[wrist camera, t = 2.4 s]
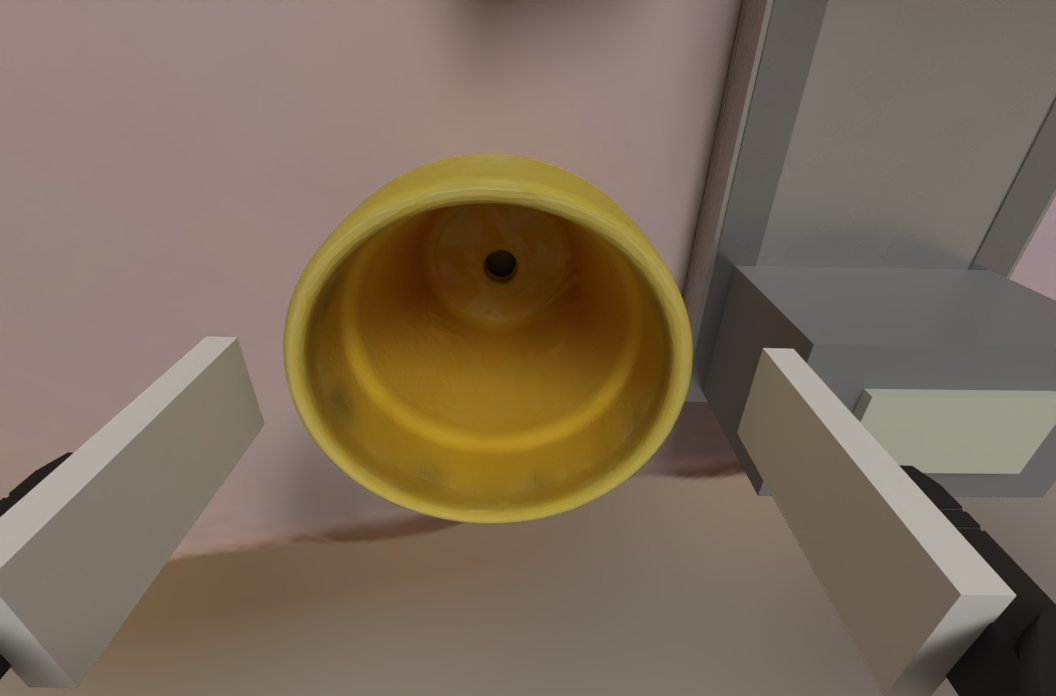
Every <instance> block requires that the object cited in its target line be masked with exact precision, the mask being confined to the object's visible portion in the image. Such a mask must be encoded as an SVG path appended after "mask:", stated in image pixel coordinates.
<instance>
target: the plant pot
mask: <svg viewBox="0 0 1056 696" xmlns="http://www.w3.org/2000/svg"><path fill="white" fill-rule="evenodd" d="M500 250H504V251H508V252H509V253H511V254H512V255H513V256H514V257H515V259H516V265H515V268H514V270H513V272H512V273H511V274H509V275H507V276H504V277H499V276H496V275H493V274H492V273H491V272H490V271H489V270H488V268H487V265H486V259H487V257H488V256H489V255H490V254H491V253H493V252H495V251H500ZM283 349H284V366H285V372H286V379H287V383H288V386H289V390H290V394H291V397H292V400H293V402H294V405H295V407H296V410H297V412H298V414H299V416H300V418H301V420H302V422H303V424H304V426H305V428H306V429H307V431H308V432H309V434H310V435H311V437H312V438H313V440H314V441H315V442H316V443H317V445H318V446H319V448H320V449H321V450H322V451H323V452H324V453H325V454H326V456H327V457H328V458H329V459H330V460H331V461H332V462H333V463H334V464H335V465H336V466H337V467H338V468H339V469H341V470H342V471H343V472H344V473H345V474H346V475H347V476H349V477H350V478H351V479H352V480H354V481H355V482H357V483H358V484H359V485H361V486H362V487H364V488H365V489H367V490H368V491H370V492H372V493H374V494H375V495H377V496H379V497H381V498H383V499H385V500H387V501H389V502H391V503H393V504H396V505H398V506H401V507H403V508H406V509H409V510H412V511H415V512H418V513H421V514H425V515H428V516H432V517H437V518H441V519H446V520H452V521H458V522H467V523H480V524H501V523H515V522H523V521H530V520H536V519H541V518H546V517H550V516H554V515H557V514H560V513H563V512H567V511H570V510H573V509H575V508H577V507H580V506H583V505H585V504H587V503H589V502H591V501H593V500H595V499H597V498H599V497H601V496H603V495H605V494H607V493H608V492H610V491H612V490H613V489H615V488H616V487H617V486H619V485H620V484H622V483H623V482H624V481H626V480H627V479H628V478H630V477H631V476H632V475H633V474H635V473H636V472H637V471H638V470H639V469H640V468H641V467H642V466H643V465H644V464H645V463H646V462H647V461H648V460H649V459H650V458H651V457H652V456H653V455H654V454H655V452H656V451H657V450H658V449H659V448H660V446H661V445H662V444H663V442H664V441H665V439H666V438H667V436H668V435H669V434H670V432H671V430H672V428H673V426H674V424H675V422H676V420H677V418H678V416H679V414H680V412H681V409H682V407H683V404H684V402H685V399H686V395H687V391H688V388H689V384H690V378H691V371H692V361H693V346H692V335H691V328H690V322H689V318H688V314H687V310H686V307H685V304H684V301H683V299H682V296H681V294H680V292H679V289H678V287H677V285H676V283H675V281H674V279H673V277H672V275H671V273H670V271H669V270H668V268H667V267H666V265H665V264H664V262H663V261H662V259H661V257H660V256H659V254H658V253H657V251H656V250H655V248H654V247H653V246H652V244H651V243H650V242H649V240H648V239H647V238H646V236H645V235H644V234H643V233H642V231H641V230H640V229H639V227H638V226H637V225H636V224H635V223H634V222H633V221H632V219H631V218H630V217H629V216H628V215H627V214H626V213H625V212H624V211H623V210H622V209H621V208H620V207H619V206H618V205H617V204H616V203H615V202H614V201H613V200H611V199H610V198H609V197H608V196H607V195H606V194H605V193H603V192H602V191H601V190H599V189H598V188H597V187H595V186H594V185H592V184H590V183H589V182H587V181H586V180H584V179H582V178H581V177H579V176H577V175H575V174H573V173H571V172H569V171H566V170H564V169H562V168H559V167H557V166H555V165H552V164H549V163H545V162H541V161H538V160H534V159H530V158H527V157H521V156H516V155H504V154H471V155H462V156H457V157H451V158H446V159H442V160H439V161H435V162H432V163H429V164H426V165H423V166H421V167H418V168H416V169H413V170H411V171H409V172H407V173H405V174H403V175H401V176H399V177H397V178H395V179H394V180H392V181H391V182H389V183H388V184H386V185H385V186H383V187H382V188H380V189H379V190H378V191H376V192H375V193H374V194H372V195H371V196H370V197H368V198H367V199H366V200H365V201H363V202H362V203H361V204H360V205H359V206H358V207H357V208H356V209H355V210H354V211H353V212H351V213H350V214H349V215H348V216H347V217H346V218H345V219H344V220H343V221H342V222H341V223H340V224H339V225H338V227H337V228H336V229H335V230H334V231H333V232H332V233H331V234H330V236H329V237H328V238H327V239H326V240H325V241H324V243H323V244H322V245H321V246H320V247H319V249H318V250H317V251H316V253H315V254H314V255H313V257H312V258H311V259H310V261H309V263H308V264H307V266H306V267H305V269H304V271H303V273H302V275H301V277H300V279H299V281H298V283H297V285H296V287H295V290H294V292H293V295H292V298H291V301H290V304H289V307H288V312H287V317H286V322H285V330H284V347H283Z"/></svg>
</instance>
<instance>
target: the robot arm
mask: <svg viewBox="0 0 1056 696" xmlns="http://www.w3.org/2000/svg"><path fill="white" fill-rule="evenodd" d="M263 426H264V421H263V418H262V415H261V411H260V408H259V405H258V402H257V399H256V395H255V392H254V389H253V386H252V383H251V379H250V376H249V373H248V370H247V367H246V363H245V360H244V357H243V354H242V351H241V347H240V344H239V341H238V338H237V337H205V338H204V339H203V340H202V341H201V342H200V343H198V344H197V345H196V346H195V347H194V348H193V349H192V350H190V351H189V352H188V353H187V354H186V355H185V356H184V357H182V358H181V359H180V360H179V361H178V362H177V363H176V364H175V365H173V366H172V367H171V368H170V369H169V370H168V371H167V372H165V373H164V374H163V375H162V376H161V377H160V378H159V379H157V380H156V381H155V382H154V383H153V384H152V385H151V386H149V387H148V388H147V389H146V390H145V391H144V392H143V393H141V394H140V395H139V396H138V397H137V398H136V399H135V400H133V401H132V402H131V403H130V404H129V405H128V406H127V407H125V408H124V409H123V410H122V411H121V412H120V413H119V414H118V415H116V416H115V417H114V418H113V419H112V420H111V421H110V422H108V423H107V424H106V425H105V426H104V427H103V428H102V429H100V430H99V431H98V432H97V433H96V434H95V435H94V436H92V437H91V438H90V439H89V440H88V441H87V442H86V443H84V444H83V445H82V446H81V447H80V448H79V449H78V450H76V451H75V452H74V453H66V454H65V455H63V456H61V457H59V458H58V459H56V460H54V461H52V462H50V463H49V464H47V465H45V466H43V467H42V468H40V469H38V470H36V471H35V472H34V473H32V474H31V475H30V476H29V477H28V478H27V479H25V480H24V481H23V482H22V483H21V484H19V485H18V486H17V487H16V488H15V489H14V490H12V491H11V492H10V493H9V497H8V498H3V499H2V500H0V679H1V678H2V677H3V676H4V674H5V673H6V672H7V671H8V669H9V668H10V667H11V669H12V670H13V671H14V672H15V673H16V674H17V675H18V676H19V677H20V678H21V679H22V680H23V681H24V682H25V683H26V684H27V686H28V687H56V688H57V687H58V688H77V687H78V686H79V684H80V683H81V682H82V680H83V679H84V677H85V676H86V675H87V673H88V672H89V670H90V669H91V668H92V666H93V665H94V663H95V662H96V660H97V659H98V658H99V656H100V655H101V654H102V652H103V651H104V649H105V648H106V646H107V645H108V644H109V642H110V641H111V639H112V638H113V637H114V635H115V634H116V632H117V631H118V630H119V628H120V627H121V625H122V623H123V622H124V621H125V620H126V618H127V617H128V616H129V614H130V613H131V611H132V610H133V608H134V607H135V606H136V604H137V603H138V601H139V600H140V599H141V597H142V596H143V594H144V593H145V592H146V590H147V589H148V587H149V586H150V585H151V583H152V582H153V580H154V579H155V578H156V576H157V575H158V573H159V572H160V571H161V569H162V568H163V566H164V565H165V563H166V562H167V561H168V559H169V558H170V557H171V555H172V554H173V552H174V551H175V550H176V548H177V547H178V545H179V544H180V542H181V541H182V540H183V538H184V537H185V535H186V534H187V533H188V531H189V530H190V528H191V527H192V526H193V524H194V523H195V521H196V520H197V519H198V517H199V516H200V514H201V513H202V512H203V510H204V509H205V507H206V506H207V505H208V503H209V502H210V500H211V499H212V498H213V496H214V495H215V493H216V492H217V490H218V489H219V488H220V486H221V485H222V483H223V482H224V481H225V479H226V478H227V476H228V475H229V474H230V472H231V471H232V469H233V468H234V467H235V465H236V464H237V462H238V461H239V460H240V458H241V457H242V455H243V454H244V453H245V451H246V450H247V448H248V447H249V446H250V444H251V443H252V441H253V440H254V438H255V437H256V436H257V434H258V433H259V431H260V430H261V429H262V427H263ZM737 434H738V436H739V437H740V439H741V441H742V443H743V445H744V446H745V448H746V450H747V452H748V454H749V455H750V457H751V459H752V461H753V463H754V464H755V466H756V468H757V470H758V472H759V473H760V475H761V477H762V479H763V481H764V482H765V484H766V486H767V488H768V490H769V491H770V493H771V495H772V497H773V499H774V500H775V502H776V504H777V506H778V508H779V510H780V511H781V513H782V515H783V517H784V519H785V520H786V522H787V524H788V526H789V528H790V529H791V531H792V533H793V535H794V537H795V538H796V540H797V542H798V544H799V546H800V547H801V549H802V551H803V553H804V554H805V556H806V558H807V560H808V562H809V564H810V565H811V567H812V569H813V571H814V573H815V574H816V576H817V578H818V580H819V582H820V583H821V585H822V587H823V589H824V590H825V592H826V594H827V596H828V598H829V600H830V602H831V603H832V605H833V607H834V608H835V611H836V612H837V614H838V616H839V618H840V620H841V621H842V623H843V625H844V627H845V629H846V630H847V632H848V634H849V636H850V637H851V639H852V641H853V643H854V645H855V647H856V648H857V650H858V652H859V654H860V656H861V657H862V659H863V661H864V663H865V665H866V666H867V668H868V670H869V672H870V674H871V675H872V677H873V679H874V681H875V683H876V684H877V686H878V688H879V690H880V692H881V694H882V695H883V696H931V695H932V694H933V692H934V691H935V690H936V689H937V688H938V687H939V686H940V684H941V683H942V682H943V681H944V680H945V679H946V677H947V679H948V680H949V682H950V683H951V684H952V686H953V687H954V689H955V691H956V692H957V693H958V695H959V696H1056V604H1055V603H1054V602H1053V601H1052V600H1051V599H1050V598H1049V597H1048V596H1047V595H1046V594H1045V593H1044V592H1043V591H1042V590H1041V589H1040V588H1039V587H1038V585H1036V583H1034V581H1033V580H1032V579H1031V578H1030V577H1029V576H1028V575H1027V574H1026V573H1025V572H1024V571H1023V570H1022V569H1021V568H1020V567H1019V566H1018V565H1017V564H1016V563H1015V562H1014V561H1013V559H1012V558H1011V557H1010V556H1009V555H1008V554H1007V553H1006V552H1005V551H1004V550H1003V549H1002V548H1001V547H1000V546H999V545H998V544H997V543H996V542H995V541H994V540H993V539H992V538H991V537H990V536H989V534H988V533H987V532H986V531H981V529H980V525H979V524H978V523H977V522H976V521H975V520H974V519H973V518H972V517H971V516H970V515H969V514H968V513H967V512H963V510H962V506H961V505H960V504H959V503H958V502H957V501H956V500H955V499H954V498H953V497H952V496H951V495H950V494H949V493H948V492H947V491H946V490H945V489H944V488H943V487H942V486H941V485H940V484H939V483H937V482H936V481H934V480H933V479H931V478H930V477H928V476H927V475H925V474H924V473H922V472H921V471H920V470H918V469H917V468H915V467H914V466H905V465H898V464H897V463H896V462H895V460H894V459H893V458H892V457H891V456H890V455H889V454H888V453H887V452H886V451H885V449H884V448H883V447H882V446H881V445H880V444H879V443H878V442H877V441H876V439H875V438H874V437H873V436H872V435H871V434H870V433H869V432H868V431H867V430H866V428H865V427H864V426H863V425H862V424H861V423H860V422H859V421H858V420H857V418H856V417H855V416H854V415H853V414H852V413H851V412H850V411H849V410H848V409H847V407H846V406H845V405H844V404H843V403H842V402H841V401H840V400H839V399H838V397H837V396H836V395H835V394H834V393H833V392H832V391H831V390H830V389H829V388H828V386H827V385H826V384H825V383H824V382H823V381H822V380H821V379H820V378H819V376H818V375H817V374H816V373H815V372H814V371H813V370H812V369H811V368H810V367H809V365H808V364H807V363H806V362H805V361H804V360H803V359H802V358H801V357H800V355H799V354H798V353H797V352H796V351H795V350H794V349H785V348H763V350H762V353H761V356H760V360H759V363H758V366H757V370H756V373H755V376H754V379H753V383H752V386H751V389H750V392H749V396H748V399H747V402H746V405H745V409H744V412H743V415H742V419H741V422H740V425H739V428H738V432H737Z"/></svg>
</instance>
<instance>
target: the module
mask: <svg viewBox="0 0 1056 696" xmlns="http://www.w3.org/2000/svg"><path fill="white" fill-rule="evenodd" d="M763 348H785V349H794V350H795V351H796V352H797V353H798V354H799V355H800V357H801V358H802V359H803V360H804V361H805V362H806V363H807V364H808V365H809V367H810V368H811V369H812V370H813V371H814V372H815V373H816V374H817V375H818V376H819V378H820V379H821V380H822V381H823V382H824V383H825V384H826V385H827V386H828V388H829V389H830V390H831V391H832V392H833V393H834V394H835V395H836V396H837V397H838V399H839V400H840V401H841V402H842V403H843V404H844V405H845V406H846V407H847V409H848V410H849V411H850V412H851V413H852V414H853V415H854V416H855V417H856V418H857V420H858V421H859V422H860V423H861V424H862V425H863V426H864V427H865V428H866V430H867V431H868V432H869V433H870V434H871V435H872V436H873V437H874V438H875V439H876V441H877V442H878V443H879V444H880V445H881V446H882V447H883V448H884V449H885V451H886V452H887V453H888V454H889V455H890V456H891V457H892V458H893V459H894V460H895V462H896V463H897V464H898V465H905V466H914V467H915V468H917V469H918V470H920V471H921V472H922V473H924V474H925V475H927V476H928V477H930V478H931V479H933V480H934V481H936V482H937V483H939V484H940V485H941V486H942V487H943V488H944V489H945V490H946V491H947V492H948V493H949V494H950V495H951V496H952V497H1043V496H1044V495H1045V494H1046V492H1047V491H1048V490H1049V489H1050V487H1051V486H1052V485H1053V484H1054V482H1055V481H1056V301H1055V300H1053V299H1051V298H1048V297H1046V296H1044V295H1042V294H1040V293H1038V292H1036V291H1033V290H1031V289H1029V288H1027V287H1025V286H1023V285H1021V284H1018V283H1016V282H1014V281H1012V280H1010V279H1008V278H1006V277H1003V276H1001V275H999V274H997V273H995V272H993V271H991V270H969V269H919V268H863V267H806V266H735V268H734V272H733V276H732V280H731V284H730V288H729V292H728V296H727V300H726V304H725V308H724V312H723V316H722V320H721V324H720V328H719V332H718V336H717V340H716V344H715V348H714V352H713V356H712V360H711V364H710V368H709V372H708V376H707V380H706V384H705V388H704V391H703V394H704V396H705V398H706V399H707V401H708V403H709V405H710V407H711V409H712V411H713V413H714V414H715V416H716V418H717V420H718V422H719V424H720V426H721V427H722V429H723V431H724V433H725V435H726V437H727V439H728V440H729V442H730V444H731V446H732V448H733V450H734V452H735V454H736V455H737V457H738V459H739V461H740V463H741V465H742V467H743V468H744V470H745V472H746V474H747V476H748V478H749V480H750V481H751V483H752V485H753V487H754V489H755V491H756V492H757V495H758V496H772V495H771V493H770V491H769V490H768V488H767V486H766V484H765V482H764V481H763V479H762V477H761V475H760V473H759V472H758V470H757V468H756V466H755V464H754V463H753V461H752V459H751V457H750V455H749V454H748V452H747V450H746V448H745V446H744V445H743V443H742V441H741V439H740V437H739V436H738V434H737V432H738V428H739V425H740V422H741V419H742V415H743V412H744V409H745V405H746V402H747V399H748V396H749V392H750V389H751V386H752V383H753V379H754V376H755V373H756V370H757V366H758V363H759V360H760V356H761V353H762V350H763Z"/></svg>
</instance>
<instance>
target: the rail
mask: <svg viewBox="0 0 1056 696" xmlns="http://www.w3.org/2000/svg"><path fill="white" fill-rule="evenodd" d="M1055 196H1056V0H743V2H742V7H741V12H740V17H739V22H738V27H737V32H736V37H735V42H734V47H733V52H732V57H731V62H730V67H729V72H728V76H727V81H726V86H725V91H724V96H723V101H722V106H721V111H720V116H719V121H718V126H717V131H716V136H715V141H714V146H713V151H712V156H711V161H710V166H709V171H708V176H707V181H706V186H705V191H704V196H703V201H702V205H701V210H700V215H699V220H698V225H697V230H696V235H695V240H694V245H693V250H692V255H691V260H690V265H689V270H688V275H687V280H686V285H685V290H684V295H683V301H684V304H685V307H686V310H687V314H688V318H689V322H690V328H691V335H692V346H693V361H692V371H691V378H690V384H689V388H688V391H687V395H686V399H685V402H708V401H707V399H706V398H705V396H704V394H703V391H704V388H705V384H706V380H707V376H708V372H709V368H710V364H711V360H712V356H713V352H714V348H715V344H716V340H717V336H718V332H719V328H720V324H721V320H722V316H723V312H724V308H725V304H726V300H727V296H728V292H729V288H730V284H731V280H732V276H733V272H734V268H735V266H806V267H863V268H919V269H969V270H991V271H993V272H995V273H997V274H999V275H1001V276H1003V277H1006V278H1008V279H1009V278H1010V276H1011V275H1012V273H1013V271H1014V269H1015V267H1016V266H1017V264H1018V262H1019V260H1020V258H1021V257H1022V255H1023V253H1024V251H1025V250H1026V248H1027V246H1028V244H1029V242H1030V241H1031V239H1032V237H1033V235H1034V233H1035V232H1036V230H1037V228H1038V226H1039V224H1040V223H1041V221H1042V219H1043V217H1044V216H1045V214H1046V212H1047V210H1048V208H1049V207H1050V205H1051V203H1052V201H1053V199H1054V198H1055Z"/></svg>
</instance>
